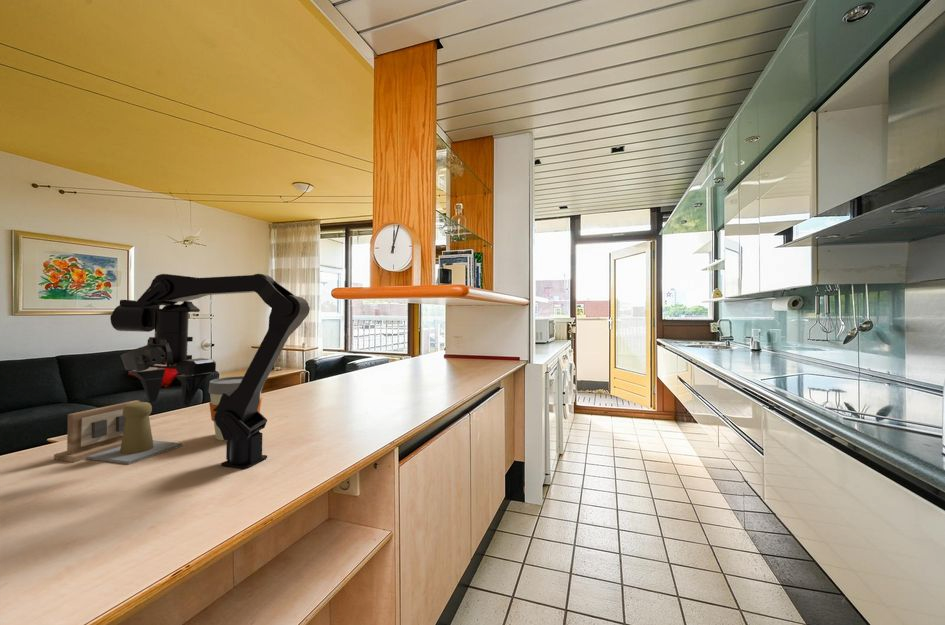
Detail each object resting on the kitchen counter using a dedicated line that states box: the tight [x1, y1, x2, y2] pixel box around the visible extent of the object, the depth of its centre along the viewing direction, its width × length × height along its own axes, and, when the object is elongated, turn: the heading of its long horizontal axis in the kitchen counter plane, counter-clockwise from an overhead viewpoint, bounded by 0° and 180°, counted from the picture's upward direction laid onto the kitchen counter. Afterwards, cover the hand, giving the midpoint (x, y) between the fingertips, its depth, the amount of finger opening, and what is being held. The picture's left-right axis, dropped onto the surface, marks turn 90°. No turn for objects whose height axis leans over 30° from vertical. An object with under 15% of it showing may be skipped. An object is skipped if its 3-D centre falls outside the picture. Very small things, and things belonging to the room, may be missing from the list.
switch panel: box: [53, 399, 141, 463], centre depth 91 cm, size 6×16×10 cm, turn 168°
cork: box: [120, 401, 154, 454], centre depth 89 cm, size 6×6×11 cm
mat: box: [87, 439, 183, 465], centre depth 89 cm, size 12×12×1 cm
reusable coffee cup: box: [208, 375, 264, 442], centre depth 102 cm, size 13×13×15 cm
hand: (169, 403), depth 83 cm, fingers open, 9 cm apart
